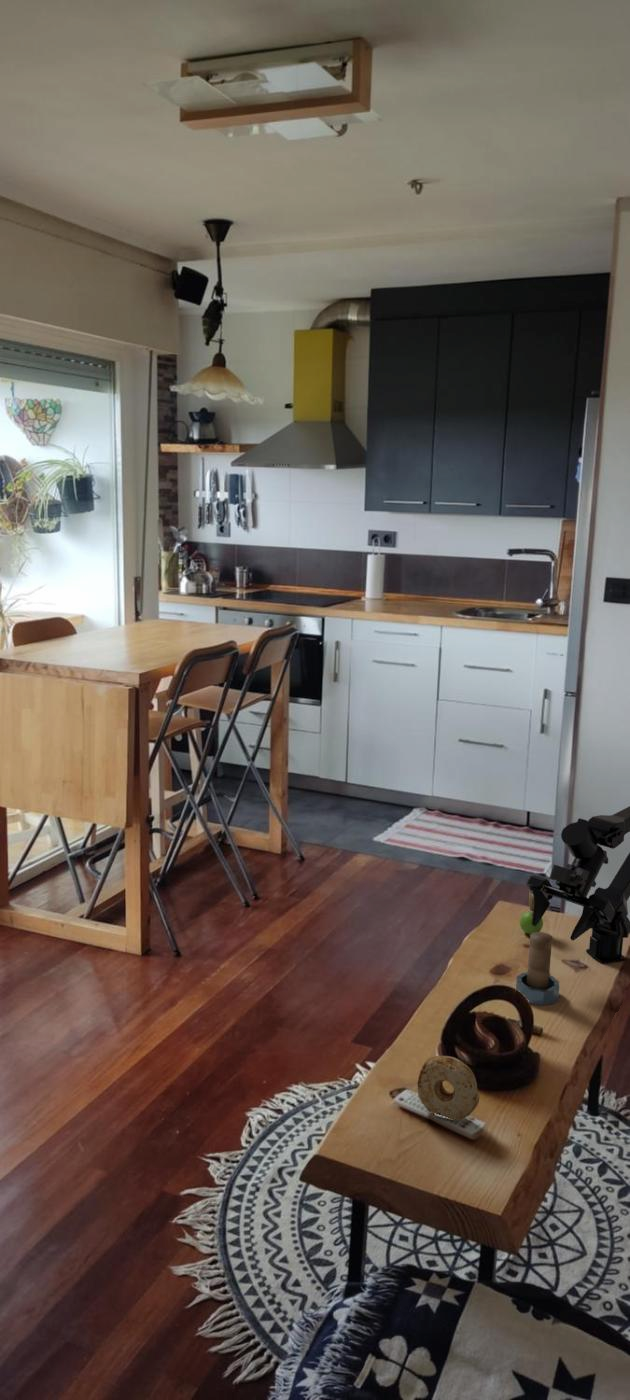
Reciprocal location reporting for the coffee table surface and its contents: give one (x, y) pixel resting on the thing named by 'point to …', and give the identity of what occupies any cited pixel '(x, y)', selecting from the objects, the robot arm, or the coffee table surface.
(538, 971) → the walnut shaft
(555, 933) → the coffee table surface
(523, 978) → the metal collar
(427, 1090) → the stone disc
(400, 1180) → the coffee table surface
